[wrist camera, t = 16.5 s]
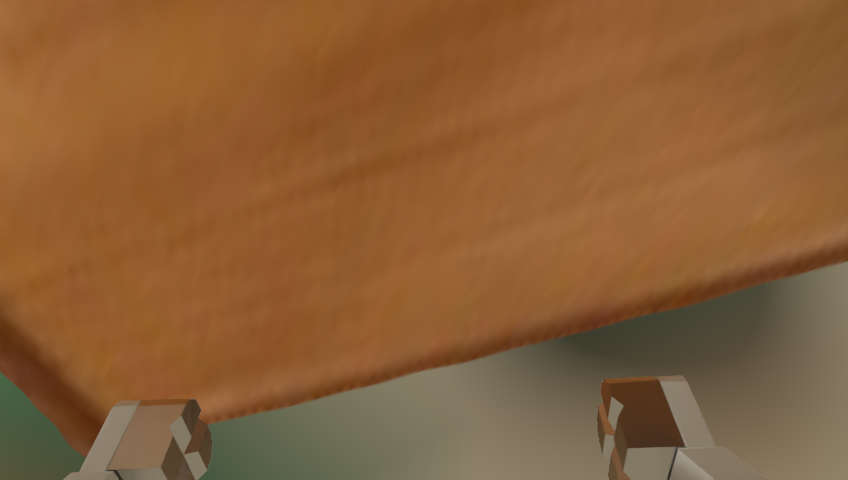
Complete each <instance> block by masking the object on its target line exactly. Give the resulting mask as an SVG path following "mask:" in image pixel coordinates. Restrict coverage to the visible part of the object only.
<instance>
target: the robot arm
mask: <svg viewBox="0 0 848 480" xmlns="http://www.w3.org/2000/svg"><path fill="white" fill-rule="evenodd" d="M600 393H601V397H602V400H603V403H602V404H601V405H600V406H599V407H598V412H597V432H598V438H599V443H600V447H601V451H602V455H603V456H604V457H606V458H607V459H608V460H609V461H610V464H609V471H608V477H609V480H767V479H765V478H764V477H763V476H761V475H760V474H759V473H758V472H756V471H755V470H754V469H752V468H751V467H750V466H748V465H747V464H746V463H745V462H744V461H742V460H741V459H740V458H738V457H737V456H736V455H735V454H733V453H732V452H731V451H729V450H728V449H727V448H725V447H724V446H716V445H715V443H714V441H713V438H712V436H711V434H710V432H709V429H708V427H707V425H706V423H705V421H704V418H703V416H702V414H701V412H700V410H699V407H698V405H697V403H696V401H695V398H694V396H693V394H692V392H691V390H690V387H689V385H688V383H687V381H686V379H685V378H684V377H683V376H663V377H636V378H619V379H604V380H603V382H602V384H601V390H600ZM200 412H201V409H200V407H199V405H198V403H197V401H196V399H172V400H133V401H119V402H118V403H117V404H116V405H115V406H114V407H113V408H112V409H111V411H110V413H109V415H108V417H107V419H106V421H105V423H104V425H103V427H102V429H101V431H100V433H99V434H98V436H97V438H96V440H95V442H94V444H93V446H92V448H91V450H90V452H89V454H88V456H87V458H86V460H85V462H84V464H83V466H82V467H81V469H80V472H73V473H71V474H70V475H68V476H67V477H66V478H65V479H63V480H198V479H199V478H200V477H201V476H202V475H203V474H204V473H205V472H206V471H207V469H208V465H209V463H210V459H211V452H212V437H211V432H210V429H209V427H208V424H206V423H205V422H203V421H202V420H200V419H199V415H200Z"/></svg>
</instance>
